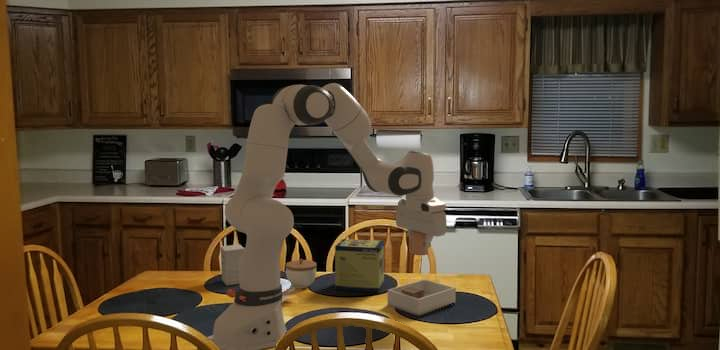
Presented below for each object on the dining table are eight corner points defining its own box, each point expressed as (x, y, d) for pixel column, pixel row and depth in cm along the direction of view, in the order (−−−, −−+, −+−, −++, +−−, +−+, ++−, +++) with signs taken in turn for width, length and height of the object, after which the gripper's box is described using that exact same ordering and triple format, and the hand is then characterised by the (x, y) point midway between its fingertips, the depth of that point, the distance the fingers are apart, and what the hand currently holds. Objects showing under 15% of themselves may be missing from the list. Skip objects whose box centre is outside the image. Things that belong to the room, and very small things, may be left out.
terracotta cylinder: (431, 253, 204) (431, 231, 203) (419, 256, 201) (419, 234, 200) (420, 250, 208) (420, 229, 207) (409, 253, 205) (408, 231, 204)
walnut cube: (413, 308, 197) (413, 293, 196) (401, 305, 201) (401, 289, 200) (424, 305, 200) (424, 289, 200) (412, 301, 204) (412, 286, 203)
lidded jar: (323, 284, 225) (322, 257, 224) (304, 292, 216) (303, 264, 215) (298, 279, 231) (298, 253, 230) (279, 287, 222) (279, 260, 221)
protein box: (379, 292, 215) (379, 247, 213) (334, 290, 218) (334, 245, 216) (384, 283, 225) (384, 240, 223) (341, 281, 229) (341, 238, 227)
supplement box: (241, 277, 234) (240, 243, 232) (246, 283, 227) (245, 248, 225) (221, 280, 231) (220, 245, 229) (225, 285, 224) (224, 250, 222)
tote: (455, 303, 204) (455, 287, 203) (418, 315, 193) (418, 299, 192) (424, 293, 214) (424, 279, 213) (387, 305, 202) (387, 289, 202)
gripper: (390, 199, 208) (391, 241, 210) (434, 208, 192) (435, 253, 194) (405, 196, 212) (406, 237, 214) (449, 205, 196) (450, 249, 198)
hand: (420, 245), depth 204 cm, fingers closed on terracotta cylinder, 5 cm apart
